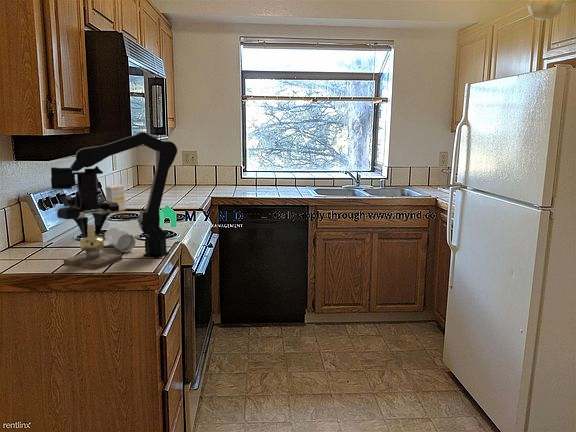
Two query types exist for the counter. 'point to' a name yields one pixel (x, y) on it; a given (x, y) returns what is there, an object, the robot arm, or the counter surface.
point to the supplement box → (116, 196)
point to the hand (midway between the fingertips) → (91, 236)
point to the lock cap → (91, 241)
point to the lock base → (93, 259)
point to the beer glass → (120, 239)
